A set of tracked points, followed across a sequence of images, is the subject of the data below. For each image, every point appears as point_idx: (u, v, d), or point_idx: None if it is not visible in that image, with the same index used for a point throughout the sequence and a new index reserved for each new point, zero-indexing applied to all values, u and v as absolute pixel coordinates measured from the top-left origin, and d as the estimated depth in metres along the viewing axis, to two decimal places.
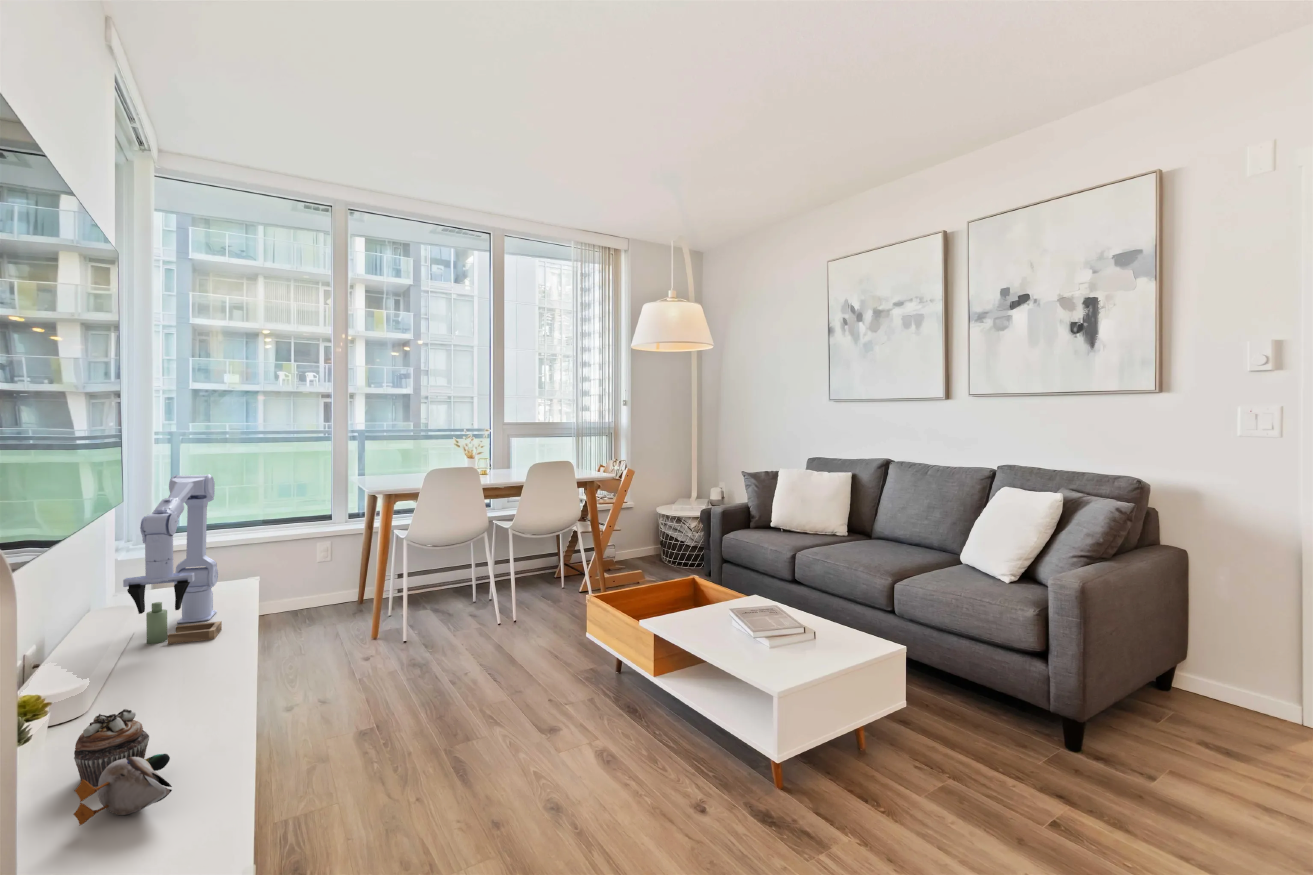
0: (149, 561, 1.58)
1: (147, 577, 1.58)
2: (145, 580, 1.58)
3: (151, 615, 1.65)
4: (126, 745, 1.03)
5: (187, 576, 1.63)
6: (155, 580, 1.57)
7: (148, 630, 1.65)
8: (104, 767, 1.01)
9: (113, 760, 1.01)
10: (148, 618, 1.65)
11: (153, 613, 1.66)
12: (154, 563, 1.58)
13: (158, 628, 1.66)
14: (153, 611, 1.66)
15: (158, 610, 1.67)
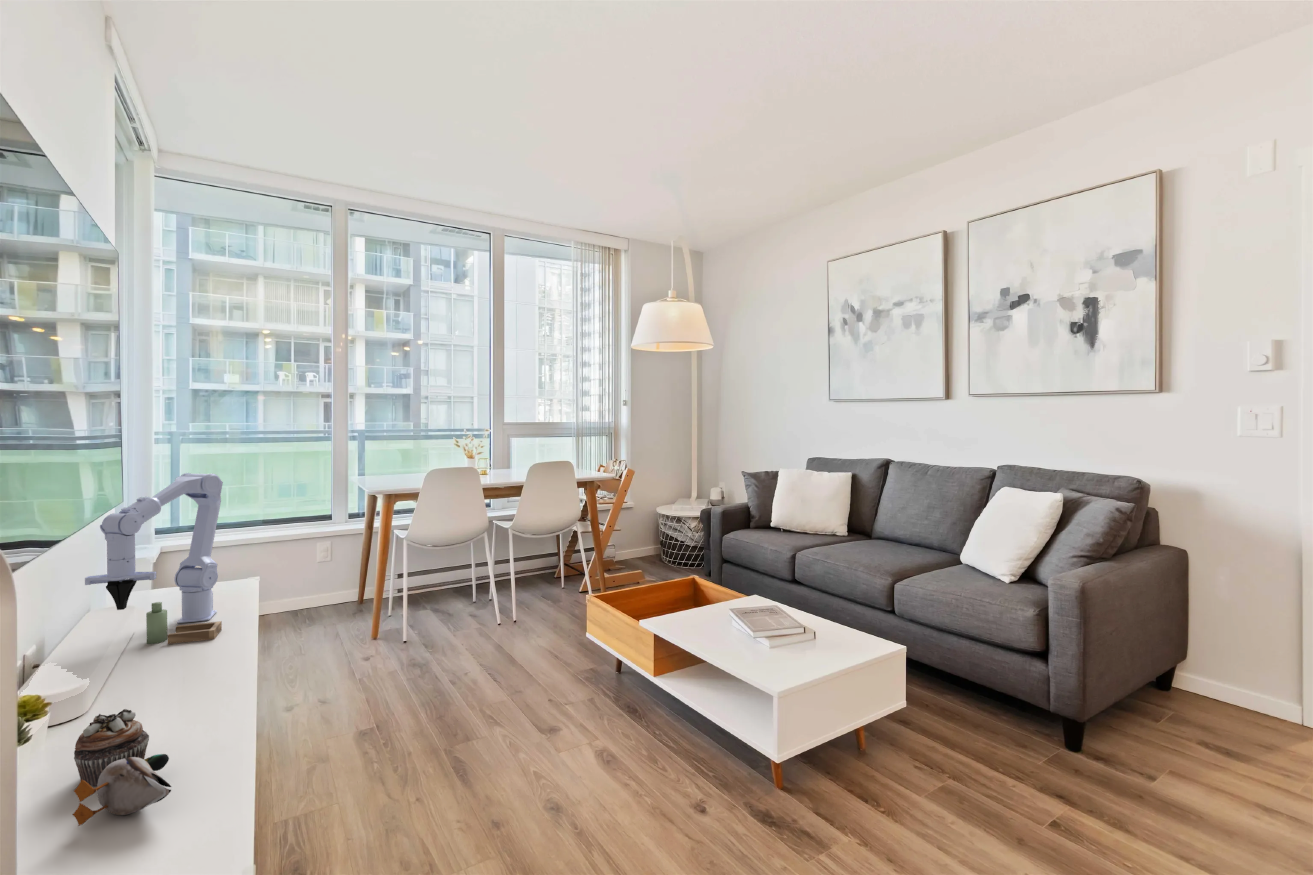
0: (110, 560, 1.61)
1: (108, 575, 1.61)
2: (106, 578, 1.61)
3: (151, 615, 1.65)
4: (126, 745, 1.03)
5: (149, 574, 1.65)
6: (116, 578, 1.60)
7: (148, 630, 1.65)
8: (103, 767, 1.01)
9: (113, 760, 1.01)
10: (148, 618, 1.65)
11: (153, 613, 1.66)
12: (115, 562, 1.61)
13: (158, 628, 1.66)
14: (153, 611, 1.66)
15: (158, 610, 1.66)
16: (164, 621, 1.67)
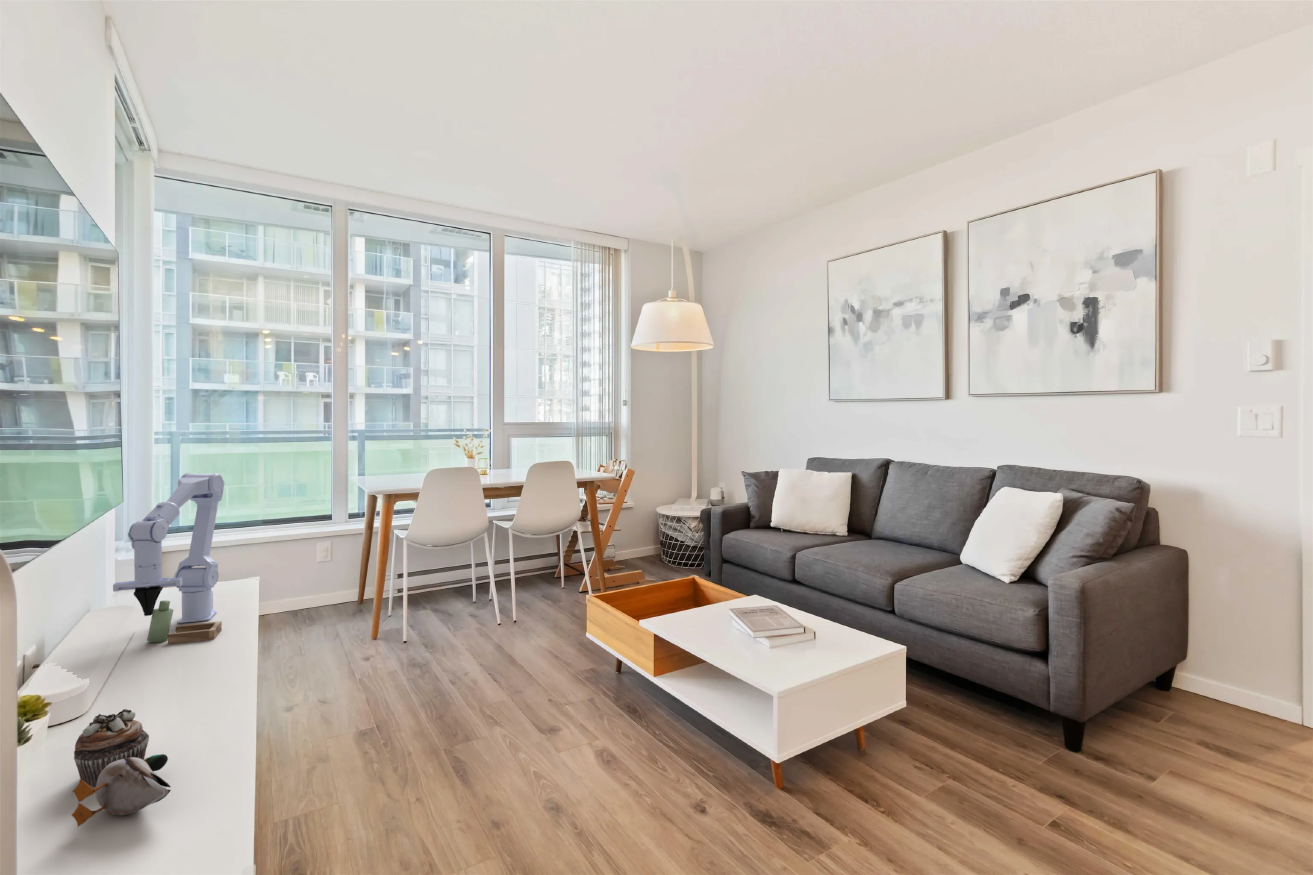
0: (138, 566, 1.63)
1: (136, 582, 1.64)
2: (134, 585, 1.63)
3: (157, 613, 1.65)
4: (125, 745, 1.03)
5: (175, 581, 1.68)
6: (143, 585, 1.63)
7: (151, 628, 1.65)
8: (103, 767, 1.01)
9: (113, 760, 1.01)
10: (154, 616, 1.65)
11: (160, 611, 1.66)
12: (143, 568, 1.63)
13: (161, 627, 1.66)
14: (160, 609, 1.67)
15: (165, 609, 1.67)
16: (168, 621, 1.67)
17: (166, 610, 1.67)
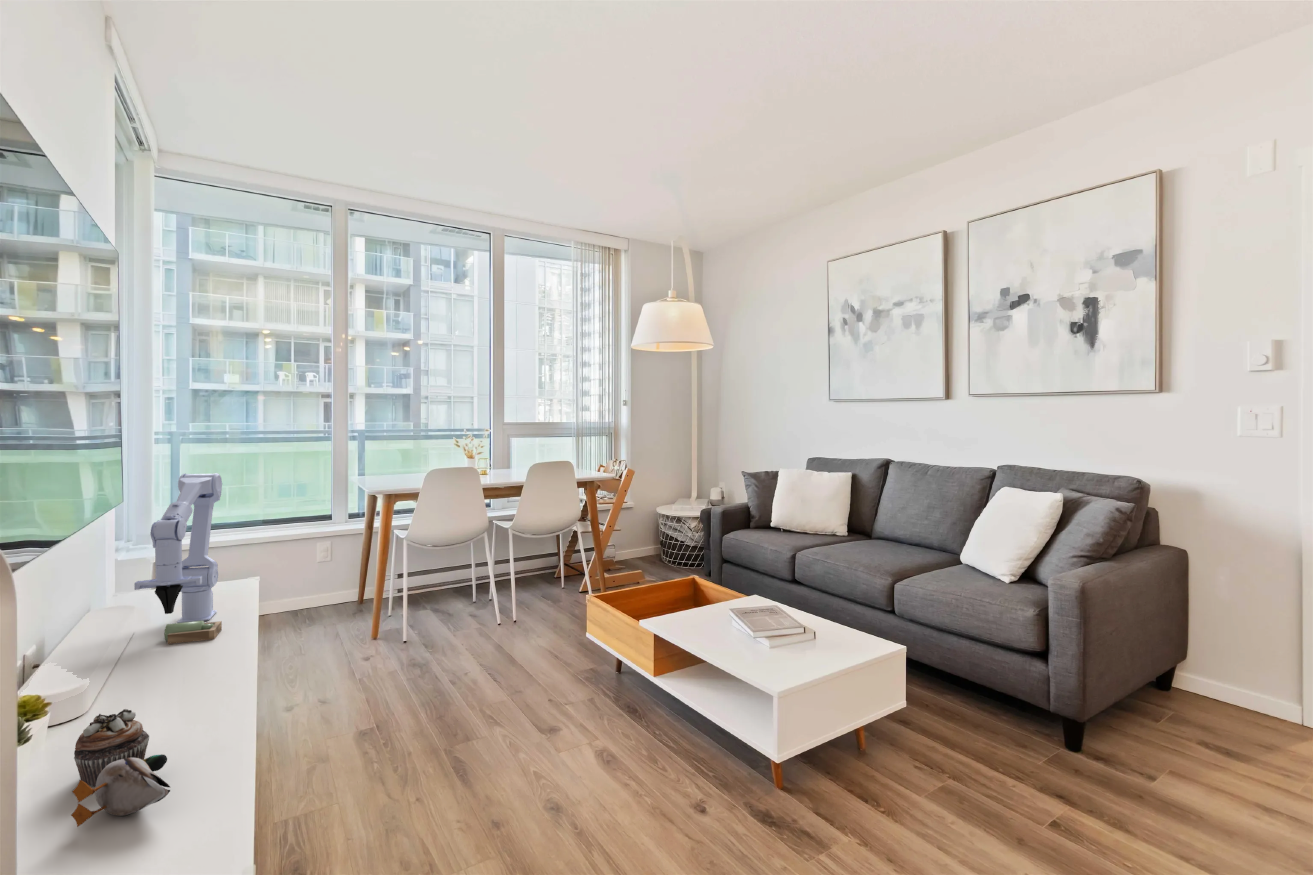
0: (159, 565, 1.65)
1: (157, 580, 1.65)
2: (155, 583, 1.65)
3: (198, 628, 1.69)
4: (126, 745, 1.03)
5: (195, 579, 1.69)
6: (165, 583, 1.64)
7: (180, 626, 1.68)
8: (103, 767, 1.01)
9: (113, 760, 1.01)
10: (195, 626, 1.69)
11: (200, 629, 1.70)
12: (164, 567, 1.65)
13: None
14: (203, 627, 1.71)
15: None
16: None
17: None
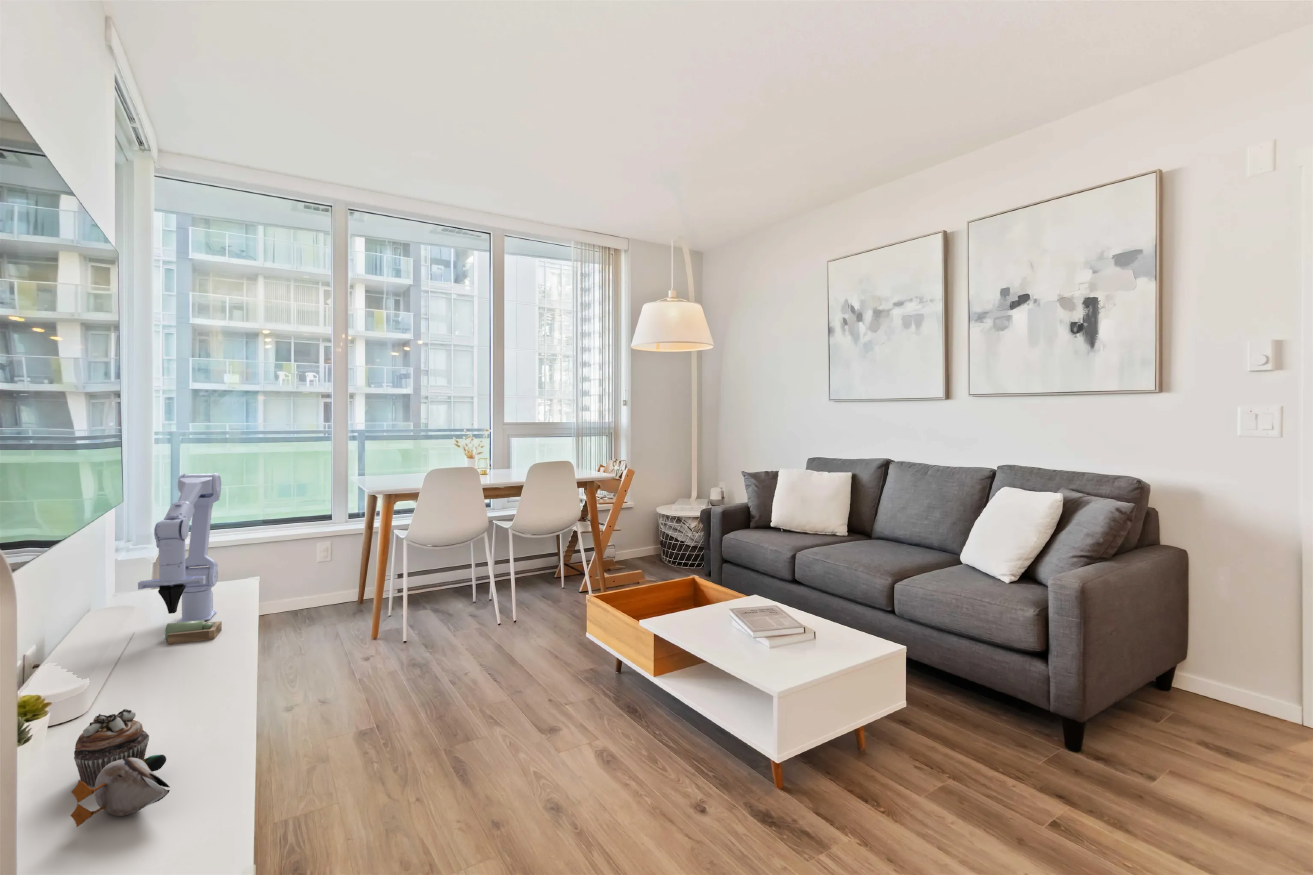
0: (162, 565, 1.65)
1: (160, 580, 1.66)
2: (159, 583, 1.65)
3: (199, 625, 1.70)
4: (125, 745, 1.03)
5: (198, 579, 1.70)
6: (168, 583, 1.65)
7: (181, 624, 1.69)
8: (103, 767, 1.01)
9: (113, 760, 1.01)
10: (196, 623, 1.70)
11: (201, 626, 1.71)
12: (167, 567, 1.65)
13: None
14: (203, 625, 1.71)
15: (204, 629, 1.71)
16: None
17: None
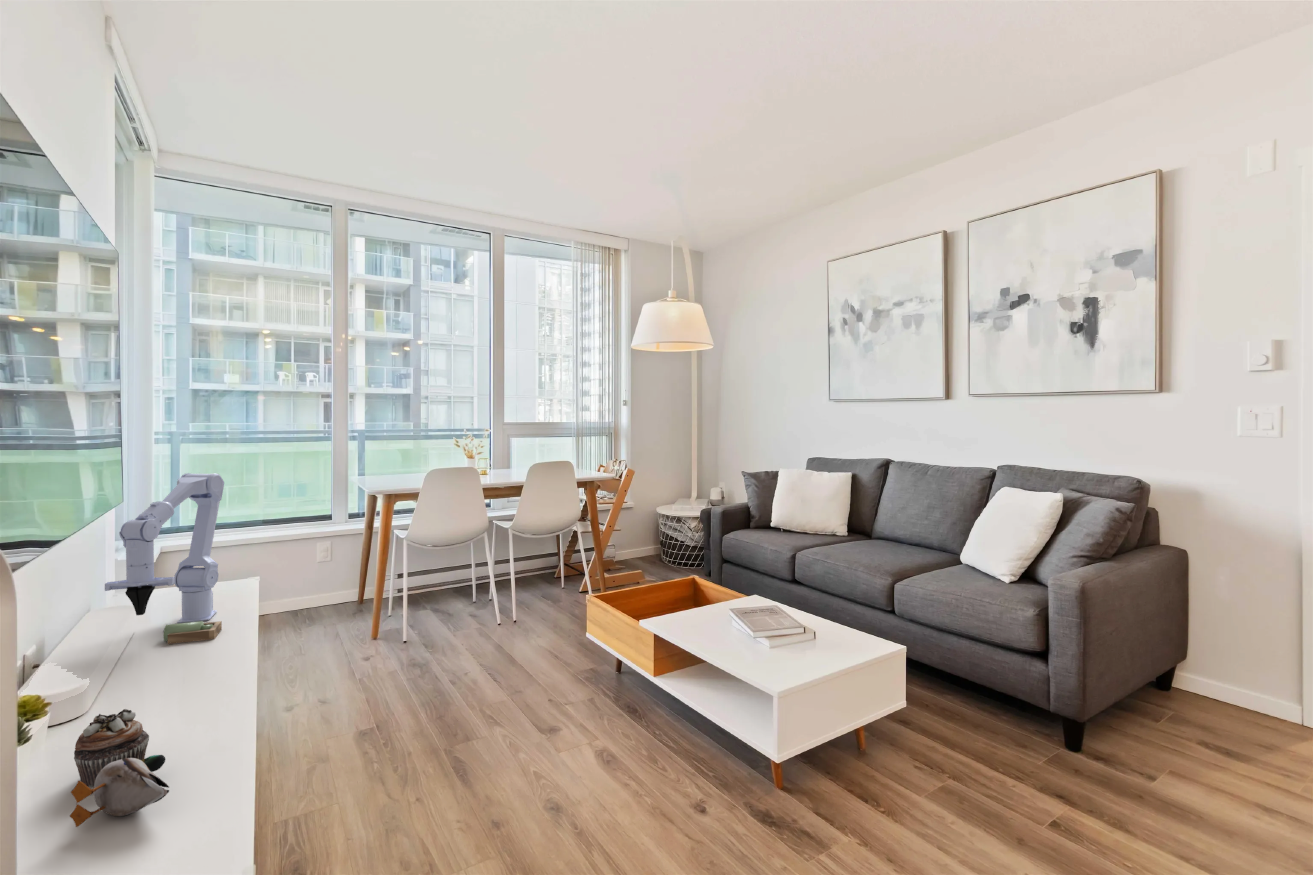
0: (130, 566, 1.63)
1: (128, 581, 1.63)
2: (126, 584, 1.62)
3: None
4: (125, 745, 1.03)
5: (167, 580, 1.67)
6: (135, 584, 1.62)
7: (179, 629, 1.67)
8: (103, 767, 1.01)
9: (113, 760, 1.01)
10: (194, 628, 1.68)
11: None
12: (134, 567, 1.63)
13: None
14: (202, 629, 1.70)
15: None
16: None
17: None
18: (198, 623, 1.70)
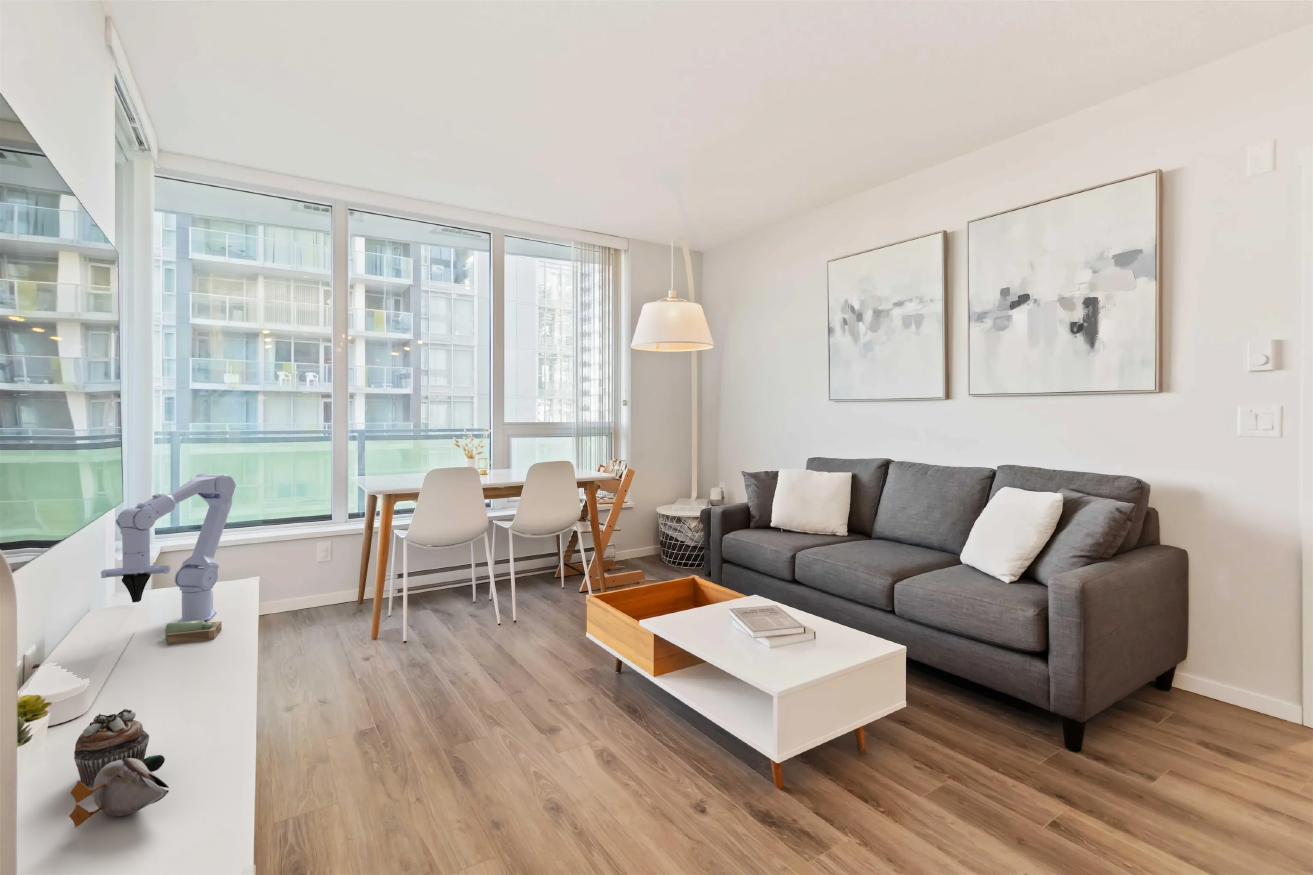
0: (126, 553, 1.65)
1: (124, 569, 1.66)
2: (122, 571, 1.65)
3: (199, 625, 1.70)
4: (126, 745, 1.03)
5: (163, 568, 1.70)
6: (131, 571, 1.65)
7: (181, 623, 1.69)
8: None
9: (113, 760, 1.01)
10: (196, 623, 1.70)
11: (201, 626, 1.71)
12: (131, 555, 1.65)
13: None
14: (203, 625, 1.71)
15: (204, 629, 1.71)
16: None
17: None
18: (201, 620, 1.72)
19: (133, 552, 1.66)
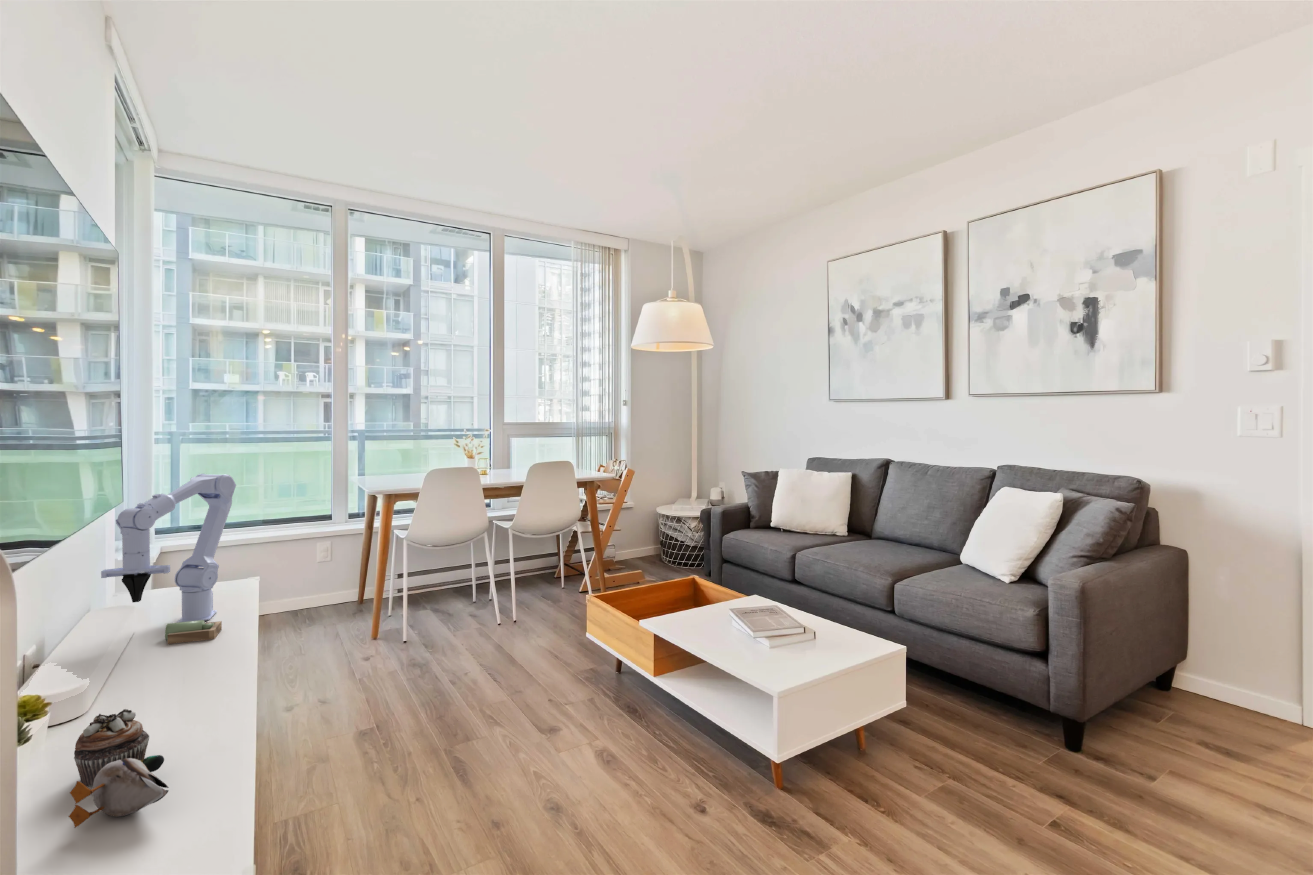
0: (126, 553, 1.65)
1: (124, 569, 1.66)
2: (122, 571, 1.65)
3: (199, 625, 1.70)
4: (126, 745, 1.03)
5: (163, 568, 1.70)
6: (131, 571, 1.65)
7: (181, 624, 1.69)
8: None
9: (113, 760, 1.01)
10: (196, 623, 1.70)
11: (201, 626, 1.70)
12: (131, 555, 1.65)
13: None
14: (203, 626, 1.71)
15: None
16: None
17: None
18: (200, 620, 1.72)
19: (133, 552, 1.66)
